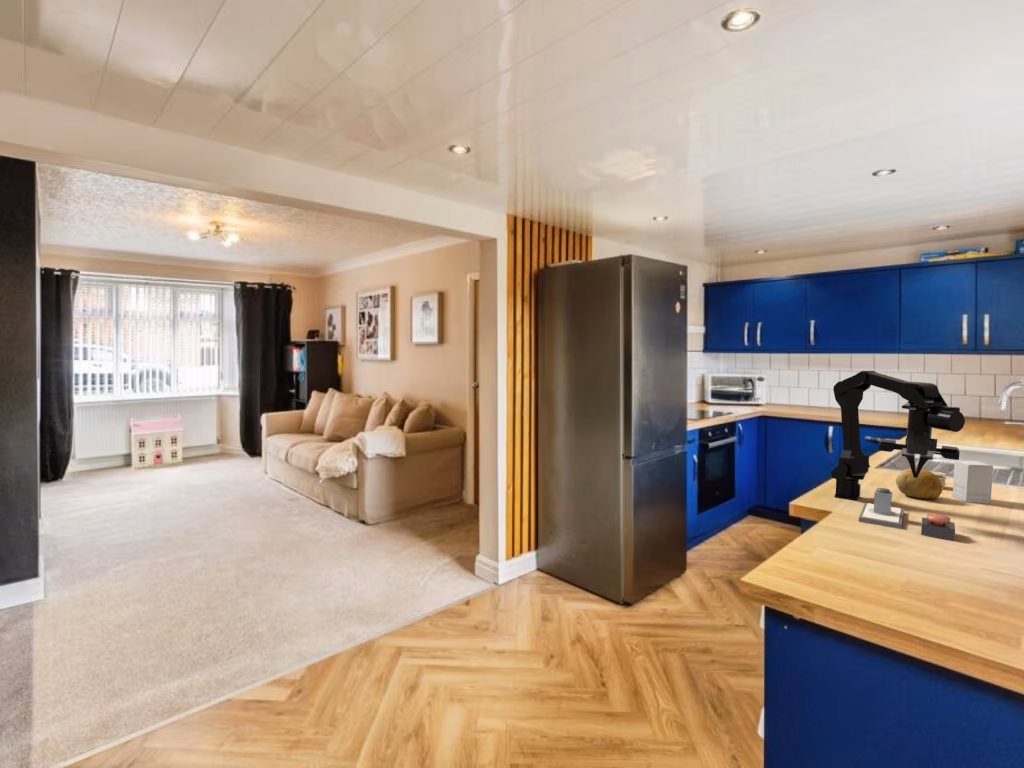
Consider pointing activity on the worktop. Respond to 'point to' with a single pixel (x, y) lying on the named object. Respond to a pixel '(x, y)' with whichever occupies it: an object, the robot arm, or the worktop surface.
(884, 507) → the grey rectangular block
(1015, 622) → the worktop surface
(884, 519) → the drawing board
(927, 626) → the worktop surface
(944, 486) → the stacked layers on plate
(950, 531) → the button housing
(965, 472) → the supplement box
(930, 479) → the potato
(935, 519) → the button
